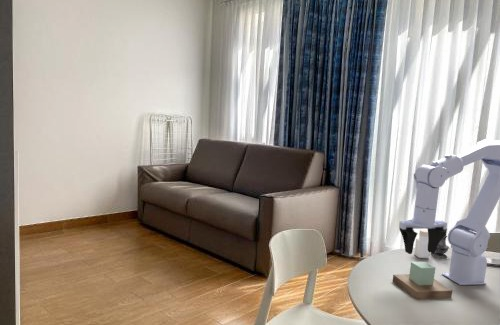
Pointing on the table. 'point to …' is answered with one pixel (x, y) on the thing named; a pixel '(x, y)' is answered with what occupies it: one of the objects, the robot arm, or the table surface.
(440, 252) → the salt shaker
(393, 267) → the table surface
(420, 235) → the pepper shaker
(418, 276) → the sage block
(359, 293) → the table surface
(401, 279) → the walnut base
